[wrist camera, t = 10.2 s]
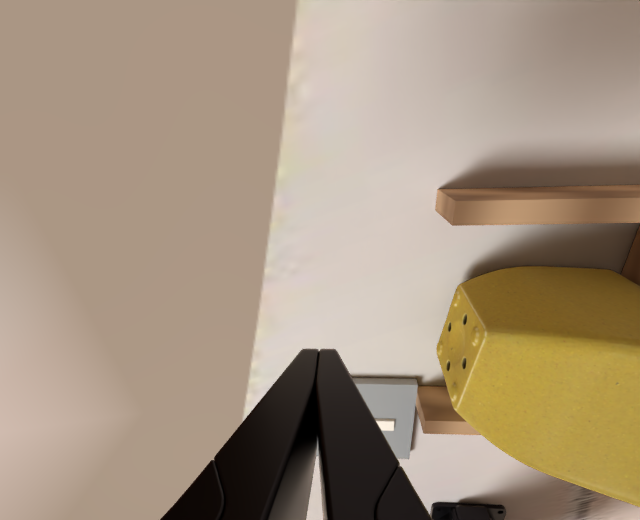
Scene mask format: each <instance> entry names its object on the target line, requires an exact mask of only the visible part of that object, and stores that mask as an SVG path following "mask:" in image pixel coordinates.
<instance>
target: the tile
mask: <svg viewBox="0 0 640 520" xmlns="http://www.w3.org/2000/svg"><path fill="white" fill-rule="evenodd" d="M352 379H353V381H354V382H355V384H356V386H357V388H358V390H359V391H360V393H361V395H362V397H363V399H364V400H365V402H366V404H367V406H368V408H369V409H370V411H371V413H372V415H373V416H374V418H375V420H376V422H377V424H378V425H379V427H380V429H381V431H382V433H383V434H384V436H385V438H386V440H387V442H388V443H389V445H390V447H391V449H392V451H393V452H394V454H395V456H396V458H397V459H409V456H410V448H411V439H412V431H413V423H414V414H415V406H416V397H417V389H418V384H417V380H416V379H397V378H352ZM316 456H319V452H318V443H317V452H316Z"/></svg>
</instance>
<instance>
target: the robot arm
mask: <svg viewBox="0 0 640 520" xmlns="http://www.w3.org/2000/svg"><path fill="white" fill-rule="evenodd" d="M317 443H318V452H319V467H320V481H321V494H322V508H323V520H504V517H505V515H506V510H505V507H504V506H502V505H490V504H465V503H441V502H436V503H433V504H432V507H431V513H430V514H429V513H428V511H427V509H426V508H425V506H424V504H423V503H422V501H421V499H420V498H419V496H418V494H417V493H416V491H415V489H414V488H413V486H412V484H411V482H410V481H409V479H408V477H407V475H406V473H405V472H404V470H403V468H402V467H401V466H400V464H399V461H398V459H397V458H396V456H395V454H394V452H393V451H392V449H391V447H390V445H389V443H388V442H387V440H386V438H385V436H384V434H383V433H382V431H381V429H380V427H379V425H378V424H377V422H376V420H375V418H374V416H373V415H372V413H371V411H370V409H369V408H368V406H367V404H366V402H365V400H364V399H363V397H362V395H361V393H360V391H359V390H358V388H357V386H356V384H355V382H354V381H353V379H352V377H351V375H350V373H349V372H348V370H347V368H346V366H345V365H344V363H343V361H342V359H341V357H340V356H339V354H338V352H337V351H336V350H335V349H321V350H320V351H319V350H318V349H302V350H301V351H300V352H299V354H298V355H297V356H296V357H295V359H294V360H293V361H292V362H291V364H290V365H289V366H288V367H287V368H286V370H285V371H284V372H283V373H282V375H281V376H280V377H279V378H278V379H277V381H276V382H275V383H274V384H273V386H272V387H271V388H270V389H269V391H268V392H267V393H266V394H265V395H264V397H263V398H262V399H261V400H260V402H259V403H258V404H257V405H256V406H255V408H254V409H253V410H252V411H251V413H250V414H249V415H248V416H247V417H246V419H245V420H244V421H243V422H242V424H241V425H240V426H239V427H238V429H237V430H236V431H235V432H234V433H233V435H232V436H231V437H230V438H229V440H228V441H227V442H226V443H225V444H224V446H223V447H222V448H221V449H220V451H219V452H218V453H217V454H216V456H215V457H214V460H215V461H214V460H211V461H210V463H209V464H208V465H207V466H206V467H205V469H204V470H203V471H202V472H201V474H200V475H199V476H198V477H197V478H196V480H195V481H194V482H193V483H192V484H191V486H190V487H189V488H188V489H187V490H186V491H185V493H184V494H183V495H182V496H181V497H180V498H179V499H178V501H177V502H176V503H175V504H174V505H173V507H171V508H170V510H169V511H168V512H167V513H166V514H165V515H164V516H163V517H162V518H161V519H160V520H306V516H307V510H308V504H309V497H310V491H311V485H312V478H313V472H314V466H315V459H316V452H317Z"/></svg>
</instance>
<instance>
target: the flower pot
mask: <svg viewBox="0 0 640 520" xmlns="http://www.w3.org/2000/svg"><path fill="white" fill-rule="evenodd" d="M437 355H438V359H439V362H440V365H441V368H442V372H443V375H444V378H445V381H446V385H447V389H448V392H449V395H450V399H451V403H452V406H453V408H454V410H455V411H456V412H457V413H458V414H459V415H460V416H461V417H462V418H463V419H464V420H465V421H466V422H468V423H469V424H470V425H471V426H472V427H473V428H474V429H475V430H476V431H478V432H479V433H480V434H481V435H482V436H484V437H485V438H486V439H487V440H489V441H490V442H491V443H492V444H494V445H495V446H496V447H498V448H499V449H501V450H502V451H504V452H505V453H507V454H508V455H510V456H511V457H513V458H515V459H516V460H518V461H520V462H522V463H524V464H525V465H527V466H529V467H532V468H534V469H536V470H538V471H541V472H543V473H546V474H548V475H551V476H553V477H556V478H559V479H562V480H564V481H567V482H570V483H573V484H576V485H578V486H581V487H584V488H587V489H590V490H592V491H595V492H598V493H601V494H604V495H607V496H610V497H612V498H615V499H618V500H621V501H624V502H627V503H630V504H633V505H635V506H638V507H640V286H639V285H637V284H635V283H634V282H632V281H630V280H628V279H627V278H625V277H623V276H621V275H620V274H618V273H616V272H614V271H612V270H609V269H592V268H571V267H548V266H523V267H513V268H506V269H501V270H497V271H493V272H490V273H486V274H483V275H480V276H478V277H475V278H473V279H471V280H468V281H466V282H464V283H462V284H460V285H459V286H458V287H457V289H456V291H455V294H454V297H453V300H452V303H451V306H450V309H449V313H448V316H447V319H446V322H445V325H444V328H443V331H442V334H441V336H440V339H439V342H438V344H437Z"/></svg>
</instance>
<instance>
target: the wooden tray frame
mask: <svg viewBox="0 0 640 520" xmlns="http://www.w3.org/2000/svg"><path fill="white" fill-rule="evenodd" d="M435 210H436V211H437V212H438V213H439V214H440V215H441V216H442V217H443V218H445V219H446V220H447V221H448V222H449V223H450V224H451V225H519V224H586V223H640V185H606V186H561V187H516V188H471V189H438V191H437V200H436V208H435ZM621 276H623V277H625V278H627V279H628V280H630V281H632V282H634V283H635V284H637V285H639V286H640V226H639V229H638V231H637V234H636V236H635V239H634V242H633V244H632V247H631V249H630V252H629V255H628V257H627V260H626V263H625V265H624V268H623V270H622V273H621ZM416 408H417V411H418V415H419V419H420V422H421V426H422V430H423V433H425V434H462V435H481V434H480V433H479V432H478V431H476V430H475V429H474V428H473V427H472V426H471V425H470V424H469V423H468V422H466V421H465V420H464V419H463V418H462V417H461V416H460V415H459V414H458V413H457V412H456V411H455V410H454V408H453V406H452V403H451V399H450V395H449V392H448V389H447V387H444V386H418V389H417V397H416Z"/></svg>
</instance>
